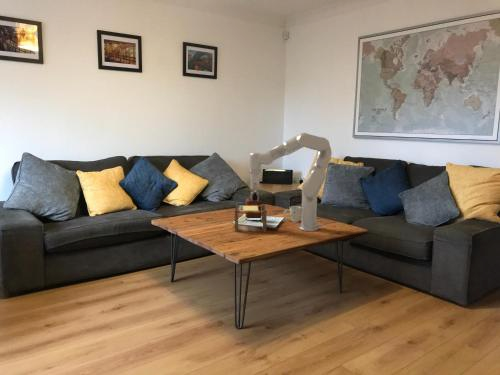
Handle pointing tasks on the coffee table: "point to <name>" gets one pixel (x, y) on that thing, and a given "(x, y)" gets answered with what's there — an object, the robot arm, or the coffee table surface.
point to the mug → (294, 213)
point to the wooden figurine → (249, 202)
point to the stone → (257, 196)
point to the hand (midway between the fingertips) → (254, 199)
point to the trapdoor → (248, 208)
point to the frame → (247, 228)
